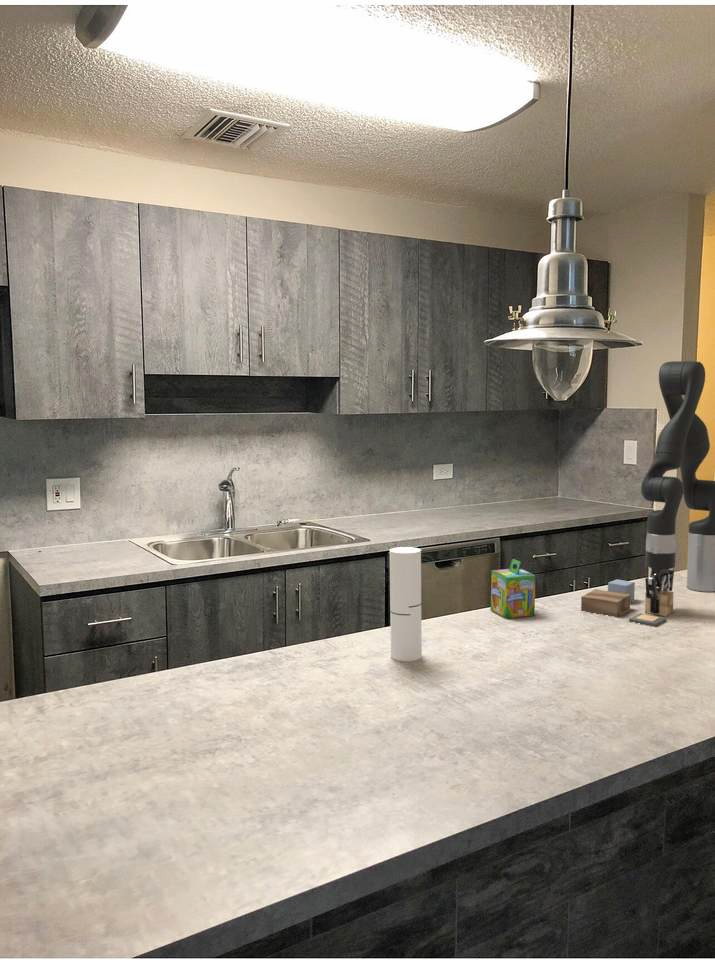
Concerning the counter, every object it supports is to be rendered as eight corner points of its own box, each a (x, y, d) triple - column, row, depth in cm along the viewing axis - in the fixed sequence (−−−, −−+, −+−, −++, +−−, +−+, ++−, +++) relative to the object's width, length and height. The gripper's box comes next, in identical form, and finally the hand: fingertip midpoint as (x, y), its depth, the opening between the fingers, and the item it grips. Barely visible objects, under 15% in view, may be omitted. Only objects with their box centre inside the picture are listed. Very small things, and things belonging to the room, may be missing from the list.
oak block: (653, 608, 213) (653, 589, 212) (673, 611, 209) (673, 592, 208) (645, 612, 209) (645, 592, 208) (665, 616, 205) (665, 596, 204)
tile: (640, 616, 206) (640, 612, 206) (666, 620, 201) (666, 617, 201) (628, 621, 201) (629, 618, 201) (655, 626, 196) (655, 623, 196)
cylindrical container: (427, 658, 175) (426, 551, 172) (398, 663, 172) (397, 554, 170) (413, 649, 182) (412, 546, 179) (385, 653, 179) (384, 548, 176)
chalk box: (489, 610, 213) (490, 558, 212) (519, 607, 216) (519, 556, 215) (505, 619, 205) (506, 565, 203) (536, 616, 207) (536, 562, 206)
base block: (595, 604, 219) (595, 589, 218) (630, 610, 213) (630, 594, 212) (581, 612, 211) (581, 596, 211) (617, 618, 205) (617, 602, 204)
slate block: (616, 597, 225) (616, 579, 225) (634, 600, 221) (634, 582, 221) (607, 601, 221) (608, 582, 221) (626, 604, 217) (626, 585, 217)
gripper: (657, 543, 215) (655, 602, 216) (636, 551, 204) (634, 613, 206) (684, 547, 210) (682, 607, 211) (664, 555, 199) (662, 618, 201)
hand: (659, 610), depth 209 cm, fingers closed on oak block, 5 cm apart
